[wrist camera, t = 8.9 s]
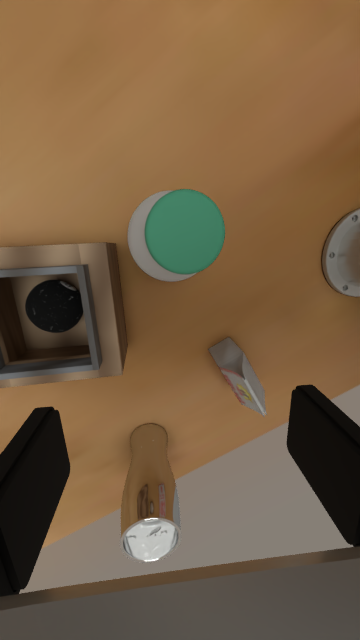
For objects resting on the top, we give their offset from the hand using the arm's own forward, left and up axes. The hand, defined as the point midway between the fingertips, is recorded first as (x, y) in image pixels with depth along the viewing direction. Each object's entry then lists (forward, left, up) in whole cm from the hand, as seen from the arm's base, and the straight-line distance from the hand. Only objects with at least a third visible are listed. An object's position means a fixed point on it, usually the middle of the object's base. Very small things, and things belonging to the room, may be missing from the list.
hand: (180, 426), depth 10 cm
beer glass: (+3, +23, -26) cm, 35 cm away
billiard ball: (+11, -1, -25) cm, 27 cm away
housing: (+11, 0, -26) cm, 28 cm away
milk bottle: (-2, -7, -26) cm, 27 cm away
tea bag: (-11, +11, -26) cm, 30 cm away
